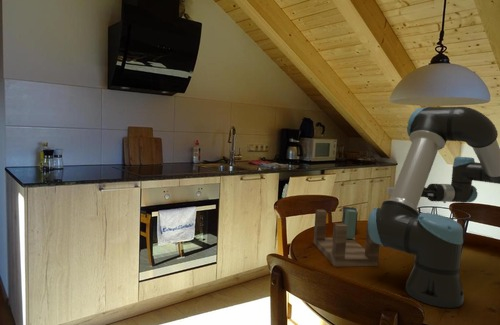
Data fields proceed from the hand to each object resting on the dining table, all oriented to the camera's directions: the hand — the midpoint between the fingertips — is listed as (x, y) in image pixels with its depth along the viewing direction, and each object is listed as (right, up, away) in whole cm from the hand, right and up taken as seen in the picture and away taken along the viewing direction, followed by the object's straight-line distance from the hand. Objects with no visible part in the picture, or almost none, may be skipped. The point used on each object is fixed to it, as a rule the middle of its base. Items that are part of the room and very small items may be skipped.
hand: (387, 190), depth 146 cm
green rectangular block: (-16, -20, 0) cm, 25 cm away
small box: (-10, -21, +21) cm, 31 cm away
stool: (-21, -23, -11) cm, 33 cm away
